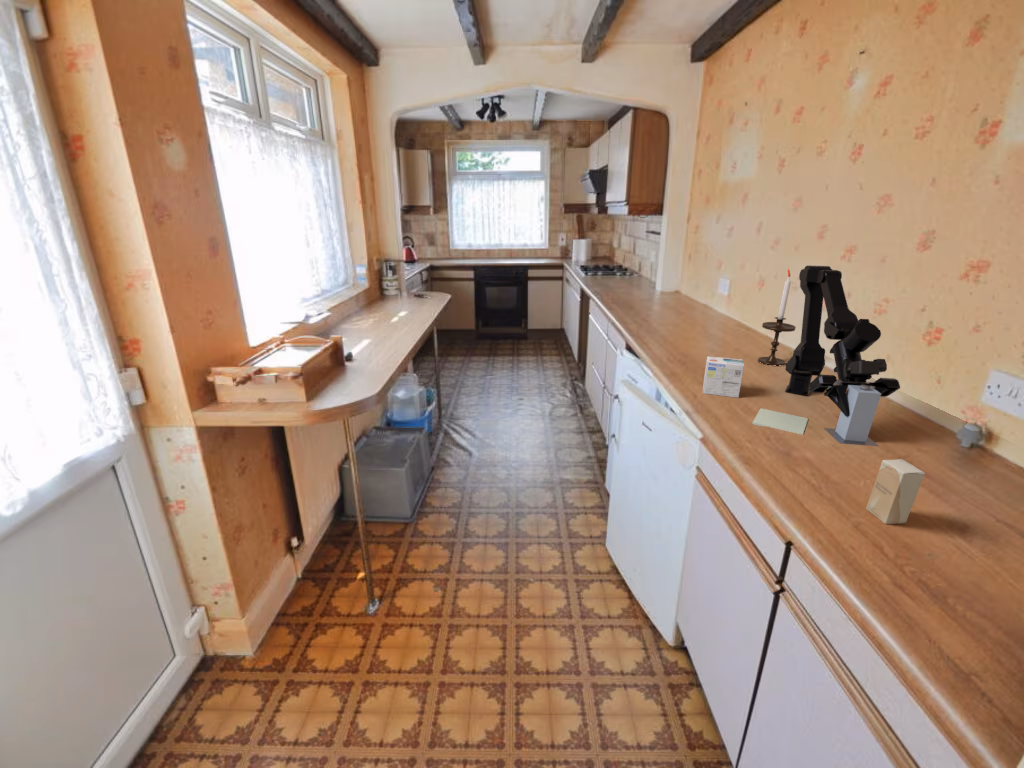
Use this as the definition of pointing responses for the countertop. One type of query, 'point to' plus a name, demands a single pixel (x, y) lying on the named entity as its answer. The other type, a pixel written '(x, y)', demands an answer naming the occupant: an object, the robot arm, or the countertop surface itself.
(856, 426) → the gray pillar with knob
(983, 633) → the countertop surface
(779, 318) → the candlestick
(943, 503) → the countertop surface
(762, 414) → the mat
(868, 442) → the grey square base plate
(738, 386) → the light bulb box
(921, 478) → the box
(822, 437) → the countertop surface
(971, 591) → the countertop surface
